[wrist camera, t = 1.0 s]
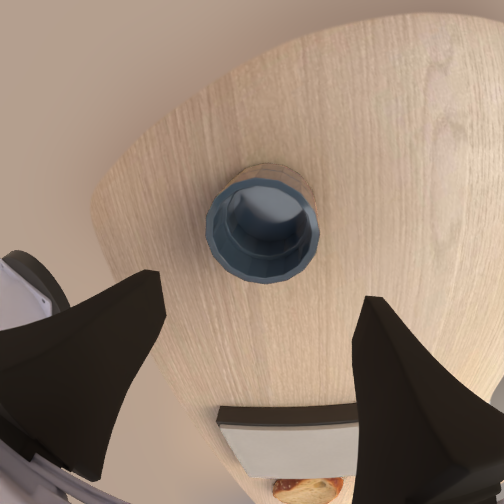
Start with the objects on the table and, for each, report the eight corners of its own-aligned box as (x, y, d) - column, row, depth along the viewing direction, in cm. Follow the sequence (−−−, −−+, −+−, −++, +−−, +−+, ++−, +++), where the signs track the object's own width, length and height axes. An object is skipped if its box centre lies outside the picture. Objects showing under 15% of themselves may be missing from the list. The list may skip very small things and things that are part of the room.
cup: (212, 220, 19) (189, 251, 16) (251, 145, 17) (235, 156, 13) (286, 260, 20) (281, 300, 16) (332, 191, 17) (341, 217, 13)
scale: (218, 405, 29) (213, 425, 27) (379, 400, 26) (382, 421, 23) (248, 462, 37) (245, 477, 34) (363, 459, 33) (363, 475, 30)
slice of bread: (303, 501, 46) (302, 515, 43) (241, 481, 42) (238, 498, 39) (377, 483, 38) (377, 499, 35) (320, 464, 34) (319, 485, 31)
